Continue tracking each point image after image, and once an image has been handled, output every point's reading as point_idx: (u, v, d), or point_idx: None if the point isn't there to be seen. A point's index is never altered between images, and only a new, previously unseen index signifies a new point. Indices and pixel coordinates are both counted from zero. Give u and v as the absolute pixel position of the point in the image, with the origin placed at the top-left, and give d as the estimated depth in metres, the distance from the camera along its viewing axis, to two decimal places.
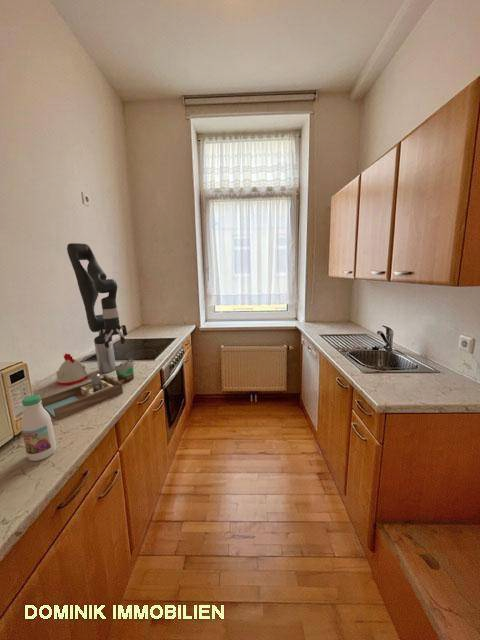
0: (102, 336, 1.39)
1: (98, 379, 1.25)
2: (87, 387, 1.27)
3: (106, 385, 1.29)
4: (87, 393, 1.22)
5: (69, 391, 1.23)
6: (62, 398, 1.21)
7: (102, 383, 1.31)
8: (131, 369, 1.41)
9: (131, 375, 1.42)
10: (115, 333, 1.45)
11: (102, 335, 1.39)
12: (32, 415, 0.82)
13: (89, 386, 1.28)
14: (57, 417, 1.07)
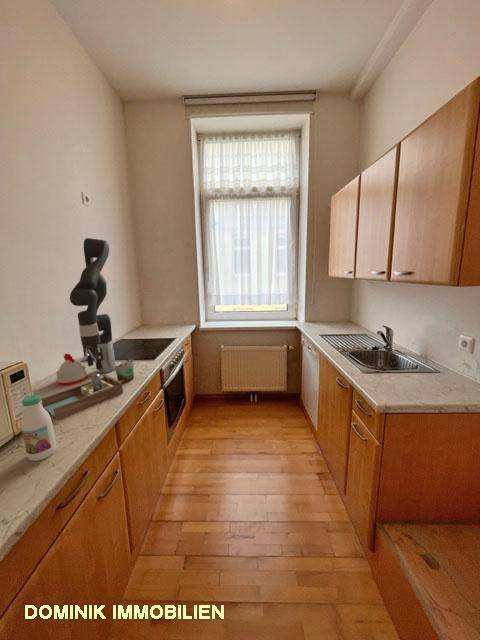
0: None
1: (98, 379, 1.25)
2: (87, 387, 1.27)
3: (106, 385, 1.29)
4: (87, 393, 1.22)
5: (69, 391, 1.23)
6: (62, 398, 1.21)
7: (102, 383, 1.31)
8: (131, 369, 1.41)
9: (131, 375, 1.42)
10: None
11: None
12: (32, 415, 0.82)
13: (89, 386, 1.28)
14: (57, 417, 1.07)
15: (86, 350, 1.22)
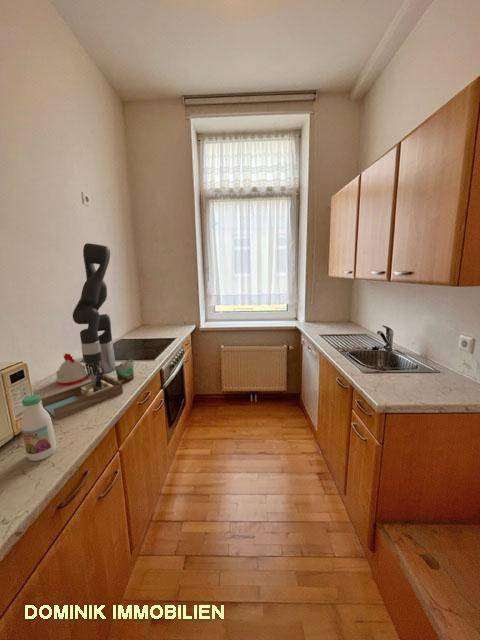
0: None
1: None
2: (87, 387, 1.27)
3: (106, 385, 1.29)
4: (87, 393, 1.22)
5: (69, 391, 1.23)
6: (62, 398, 1.21)
7: (102, 383, 1.31)
8: (131, 369, 1.41)
9: (131, 375, 1.42)
10: None
11: None
12: (32, 415, 0.82)
13: (89, 386, 1.28)
14: (57, 417, 1.07)
15: (88, 367, 1.23)
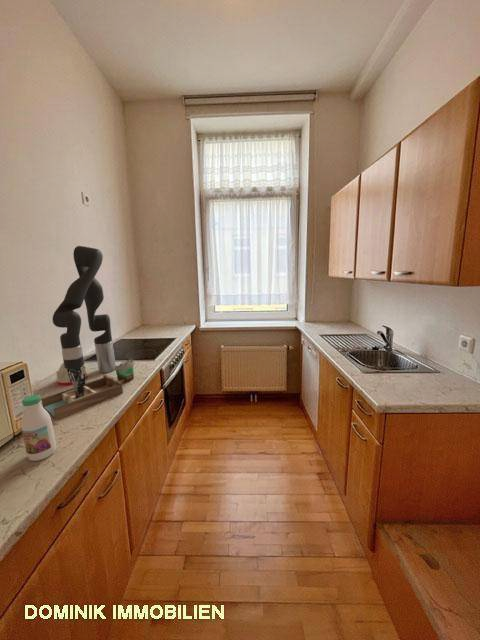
0: None
1: None
2: (69, 393, 1.21)
3: (89, 391, 1.23)
4: (68, 400, 1.16)
5: None
6: (62, 398, 1.21)
7: (85, 389, 1.25)
8: (131, 369, 1.41)
9: (131, 375, 1.42)
10: None
11: None
12: (32, 415, 0.82)
13: (71, 392, 1.22)
14: (57, 417, 1.07)
15: (69, 373, 1.17)
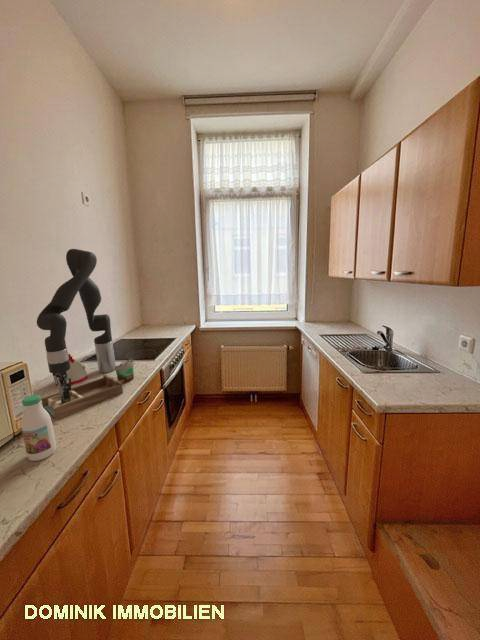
0: None
1: None
2: (55, 398, 1.17)
3: (76, 396, 1.19)
4: (53, 406, 1.11)
5: None
6: None
7: (72, 394, 1.21)
8: (131, 369, 1.41)
9: (131, 375, 1.42)
10: None
11: None
12: (32, 415, 0.82)
13: (57, 397, 1.18)
14: (57, 417, 1.07)
15: (55, 377, 1.13)
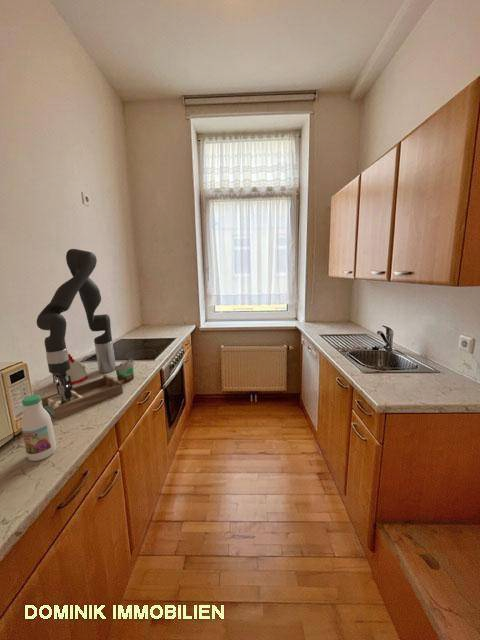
0: None
1: None
2: (55, 398, 1.17)
3: (76, 396, 1.19)
4: (53, 406, 1.11)
5: None
6: None
7: (72, 394, 1.21)
8: (131, 369, 1.41)
9: (131, 375, 1.42)
10: None
11: None
12: (32, 415, 0.82)
13: (57, 397, 1.18)
14: (57, 417, 1.07)
15: (54, 377, 1.13)
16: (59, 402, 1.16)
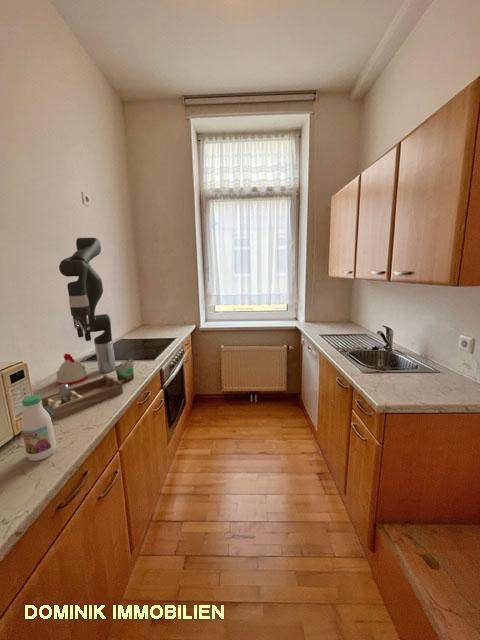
0: None
1: (66, 390, 1.14)
2: (55, 398, 1.17)
3: (76, 396, 1.19)
4: (53, 406, 1.11)
5: None
6: None
7: (72, 394, 1.21)
8: (131, 369, 1.41)
9: (131, 375, 1.42)
10: None
11: None
12: (32, 415, 0.82)
13: (57, 397, 1.18)
14: (57, 417, 1.07)
15: (76, 321, 1.23)
16: (59, 402, 1.16)
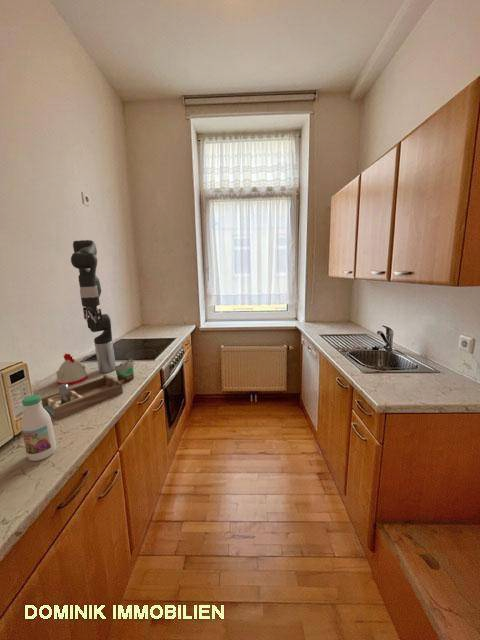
0: None
1: (66, 390, 1.14)
2: (55, 398, 1.17)
3: (76, 396, 1.19)
4: (53, 406, 1.11)
5: None
6: None
7: (72, 394, 1.21)
8: (131, 369, 1.41)
9: (131, 375, 1.42)
10: None
11: None
12: (32, 415, 0.82)
13: (57, 397, 1.18)
14: (57, 417, 1.07)
15: (86, 312, 1.28)
16: (59, 402, 1.16)
